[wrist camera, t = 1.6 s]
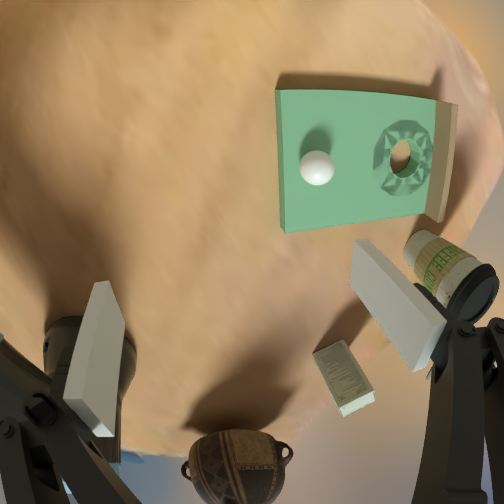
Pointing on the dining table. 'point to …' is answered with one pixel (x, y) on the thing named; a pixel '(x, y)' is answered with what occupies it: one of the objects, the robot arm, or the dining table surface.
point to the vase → (237, 467)
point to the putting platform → (362, 156)
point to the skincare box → (344, 378)
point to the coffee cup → (452, 275)
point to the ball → (317, 167)
